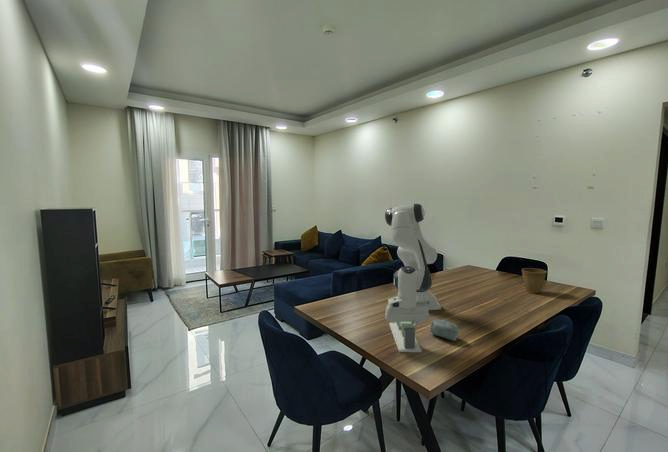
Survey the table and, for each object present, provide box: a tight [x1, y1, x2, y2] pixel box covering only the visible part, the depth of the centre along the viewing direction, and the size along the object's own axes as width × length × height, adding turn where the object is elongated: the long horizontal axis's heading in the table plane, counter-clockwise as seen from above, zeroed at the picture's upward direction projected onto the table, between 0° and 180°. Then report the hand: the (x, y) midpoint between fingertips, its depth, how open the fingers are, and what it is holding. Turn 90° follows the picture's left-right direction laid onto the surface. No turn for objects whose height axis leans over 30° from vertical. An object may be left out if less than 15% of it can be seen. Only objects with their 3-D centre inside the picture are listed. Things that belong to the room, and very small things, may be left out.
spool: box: [430, 319, 460, 342], centre depth 155 cm, size 14×10×10 cm
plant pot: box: [521, 267, 547, 294], centre depth 224 cm, size 15×15×16 cm
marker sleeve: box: [400, 322, 414, 337], centre depth 149 cm, size 5×5×5 cm
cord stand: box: [388, 322, 422, 353], centre depth 156 cm, size 10×30×10 cm, turn 179°
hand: (406, 329), depth 149 cm, fingers closed on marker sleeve, 5 cm apart
